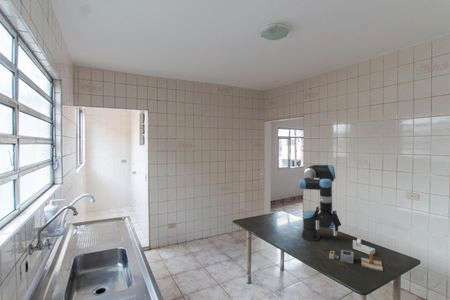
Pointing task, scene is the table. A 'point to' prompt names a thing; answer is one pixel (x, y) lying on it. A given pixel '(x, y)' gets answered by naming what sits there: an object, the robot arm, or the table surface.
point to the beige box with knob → (331, 254)
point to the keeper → (371, 263)
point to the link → (347, 256)
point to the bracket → (362, 247)
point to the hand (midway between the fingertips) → (326, 232)
